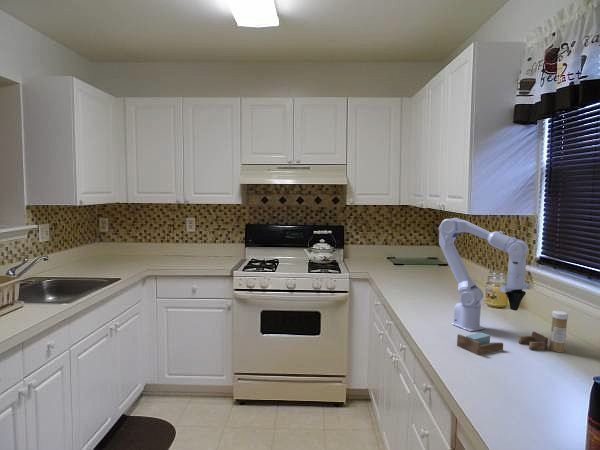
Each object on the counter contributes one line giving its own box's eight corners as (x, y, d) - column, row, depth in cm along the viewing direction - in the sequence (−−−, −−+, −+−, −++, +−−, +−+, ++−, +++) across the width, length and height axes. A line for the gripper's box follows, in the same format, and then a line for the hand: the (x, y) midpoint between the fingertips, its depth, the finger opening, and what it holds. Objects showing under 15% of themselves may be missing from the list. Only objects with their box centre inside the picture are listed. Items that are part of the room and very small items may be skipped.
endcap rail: (454, 344, 146) (454, 333, 145) (476, 339, 151) (477, 328, 151) (480, 356, 136) (481, 344, 136) (503, 350, 141) (504, 339, 141)
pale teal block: (465, 348, 143) (466, 335, 142) (480, 344, 147) (481, 332, 146) (473, 352, 140) (474, 339, 139) (489, 348, 144) (490, 335, 143)
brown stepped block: (530, 350, 142) (531, 338, 142) (518, 343, 149) (519, 332, 148) (547, 349, 143) (547, 338, 143) (534, 342, 150) (534, 331, 149)
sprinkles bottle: (551, 346, 146) (554, 309, 145) (566, 350, 143) (569, 312, 142) (547, 350, 143) (551, 311, 141) (563, 353, 140) (566, 314, 138)
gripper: (513, 277, 146) (511, 315, 147) (539, 273, 152) (536, 310, 153) (495, 273, 152) (493, 309, 153) (521, 270, 158) (519, 305, 160)
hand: (514, 309), depth 154 cm, fingers closed
